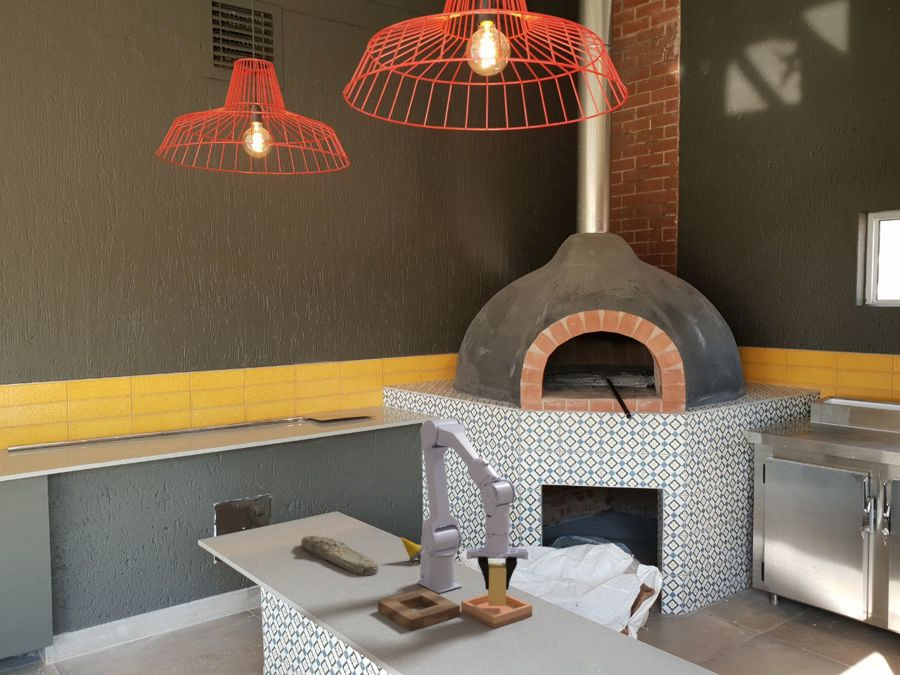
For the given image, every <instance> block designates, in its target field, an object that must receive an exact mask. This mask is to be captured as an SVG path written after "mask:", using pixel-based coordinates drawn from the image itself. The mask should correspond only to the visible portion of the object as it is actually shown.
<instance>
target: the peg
mask: <svg viewBox="0 0 900 675" xmlns="http://www.w3.org/2000/svg"><path fill="white" fill-rule="evenodd" d="M488 564H489V570H488V580H489V590H487V594H488V604H489V606H506V594H507V590H506V565H505V562H488Z"/></svg>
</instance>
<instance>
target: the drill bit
mask: <svg viewBox="0 0 900 675" xmlns="http://www.w3.org/2000/svg"><path fill="white" fill-rule="evenodd" d="M400 539H401V542H402V544H403V546H404V548H405V550H406V552H407V555H408V557H409V561H410V563H413V562H414V561H415V560H416V559H417V560H418V561H420V559H421V556H422V553H423V552H424V549H423V547H422V545H419V544H416V543H414V542H413V541H410V540H408V539H406V538H404V537H402V536H400Z"/></svg>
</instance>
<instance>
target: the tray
mask: <svg viewBox="0 0 900 675" xmlns="http://www.w3.org/2000/svg"><path fill="white" fill-rule="evenodd" d="M461 612H462V613H464V614H465V615H467V616H469V617H471V618H473V619H475V620H477V621H479V622H480V623H483V624H485V625H487V626H488V627H490V628H492V629H497V628H499V627H503V626H505V625H508V624H511V623H515V622H518V621H520V620H523V619H526V618H530V617H532V616H533V605H532V604H530V603H528V602H526V601H524V600H521V599H519V598H517V597H515V596H512V595H510V594H508V593H506V606H489V604H488V593H483V594H481V595H478V596H474V597H470V598H468V599H464V600H461V602H460V613H461Z"/></svg>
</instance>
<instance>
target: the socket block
mask: <svg viewBox="0 0 900 675" xmlns="http://www.w3.org/2000/svg"><path fill="white" fill-rule="evenodd" d="M418 607H424V608H422V609H419V610H413V609H415V608H418ZM377 612H379V613H381V614H382V615H384V616H386V617H387V618H389V619H391V620H392V621H394V622H396V623H397V624H399V625H400V626H402V627H404V628H406V629H407V630H408V631H410V632H413V631H415V630H420V629H422V628H425V627H430V626H433V625H436V624H440V623H442V622H445V621H448V620H452V619H455V618H459V617H460V616H461V604H458V603H455V602H453V601H452V600H449V599H447V598H445V597H444V596H442V595H440V594H439V593H436V592H434V591H432V590H430V589H428V588H427V587H424V588H421V589H417V590H413V591H409V592H406V593H401V594H398V595H395V596H390V597H386V598H383V599H380V600H378V601H377Z"/></svg>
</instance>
